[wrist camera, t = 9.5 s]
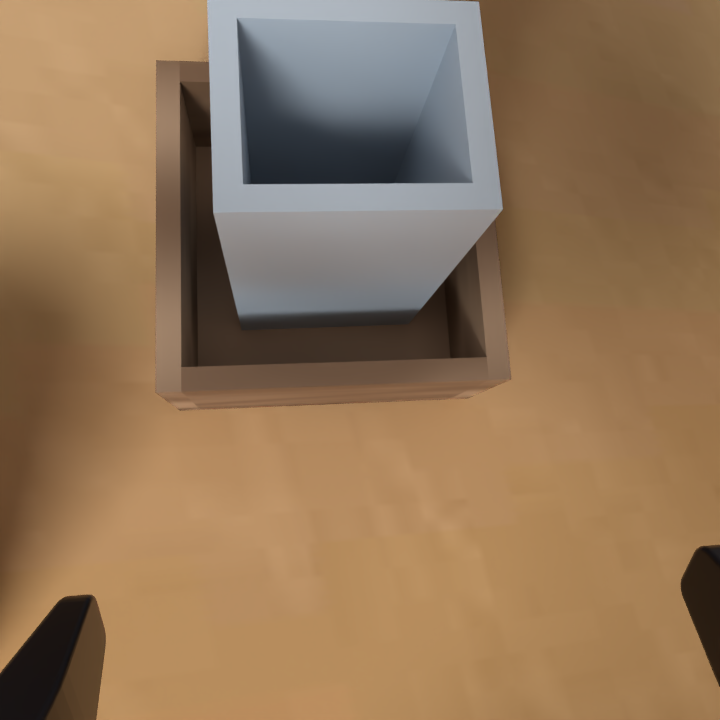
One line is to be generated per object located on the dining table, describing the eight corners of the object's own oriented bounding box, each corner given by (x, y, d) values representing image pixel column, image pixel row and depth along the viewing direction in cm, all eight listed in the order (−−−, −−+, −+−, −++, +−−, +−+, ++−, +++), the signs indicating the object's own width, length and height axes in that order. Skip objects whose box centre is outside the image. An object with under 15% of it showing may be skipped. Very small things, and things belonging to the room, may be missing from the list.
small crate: (408, 324, 23) (503, 209, 13) (241, 330, 22) (213, 212, 13) (397, 196, 24) (479, 1, 14) (237, 197, 23) (207, -9, 13)
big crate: (467, 398, 23) (511, 379, 19) (180, 410, 22) (155, 392, 18) (445, 141, 25) (479, 70, 21) (178, 137, 24) (156, 60, 20)
